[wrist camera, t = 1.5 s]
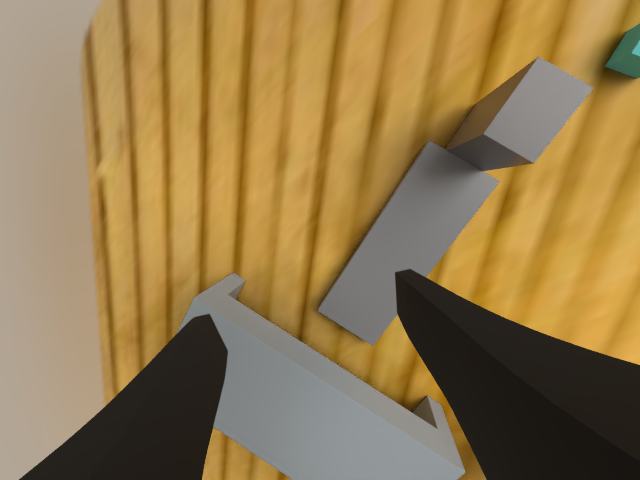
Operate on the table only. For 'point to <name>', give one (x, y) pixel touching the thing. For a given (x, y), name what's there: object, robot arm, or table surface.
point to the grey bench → (316, 406)
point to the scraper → (449, 192)
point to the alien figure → (627, 54)
